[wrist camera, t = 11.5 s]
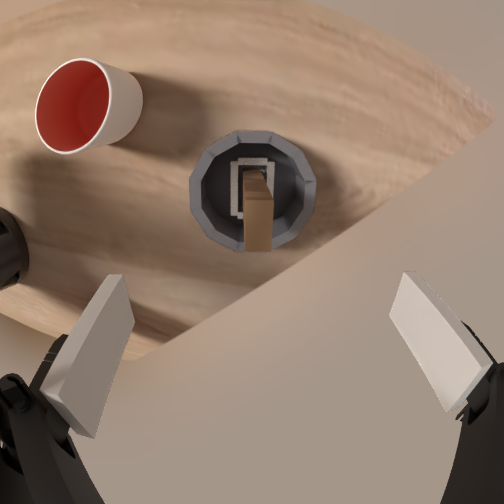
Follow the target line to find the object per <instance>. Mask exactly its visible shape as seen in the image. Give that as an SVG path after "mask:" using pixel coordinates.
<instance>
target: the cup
mask: <svg viewBox="0 0 504 504" xmlns="http://www.w3.org/2000/svg"><path fill="white" fill-rule="evenodd" d="M142 106H143V95H142V90H141V87H140V85H139V83H138V81H137V80H136V79H135V78H134V77H133V76H132V75H131V74H130V73H128V72H126V71H124V70H121V69H119V68H116V67H113V66H110V65H108V64H105V63H102V62H99V61H96V60H93V59H90V58H77V59H73V60H70V61H68V62H66V63H64V64H62V65H61V66H60V67H58V68H57V69H56V70H55V71H54V72H53V73H52V74H51V75H50V76H49V77H48V79H47V80H46V82H45V83H44V85H43V87H42V89H41V91H40V93H39V96H38V99H37V103H36V109H35V122H36V128H37V131H38V134H39V136H40V138H41V140H42V142H43V143H44V144H45V145H46V146H47V147H48V148H49V149H50V150H52V151H54V152H56V153H59V154H74V153H77V152H81V151H84V150H88V149H92V148H96V147H100V146H104V145H108V144H112V143H114V142H117V141H119V140H120V139H122V138H124V137H125V136H126V135H127V134H128V133H129V132H130V131H131V130H132V129H133V128H134V126H135V125H136V123H137V121H138V119H139V117H140V114H141V111H142Z"/></svg>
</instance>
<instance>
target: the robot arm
mask: <svg viewBox="0 0 504 504" xmlns="http://www.w3.org/2000/svg"><path fill="white" fill-rule="evenodd" d="M28 265H29V256H28V250H27V245H26V242H25V239H24V236H23V234H22V232H21V230H20V228H19V226H18V224H17V223H16V221H15V220H14V219H13V217H12V216H11V215H10V214H9V213H8V212H7V211H5V210H4V209H2V208H0V291H1V290H3V289H6V288H8V287H11V286H13V285H15V284H17V283H18V282H19V281H20V280H21V279H22V278H23V277H24V276H25V275H26V273H27V270H28ZM389 316H390V318H391V319H392V321H393V322H394V324H395V326H396V327H397V329H398V330H399V332H400V334H401V335H402V337H403V338H404V340H405V342H406V343H407V345H408V346H409V348H410V350H411V351H412V353H413V355H414V356H415V358H416V360H417V361H418V363H419V365H420V366H421V368H422V370H423V372H424V373H425V375H426V376H427V379H428V380H429V382H430V384H431V386H432V387H433V389H434V391H435V393H436V395H437V397H438V399H439V400H440V402H441V404H442V406H443V408H444V410H445V412H446V413H448V412H450V411H452V410H454V409H456V408H458V407H459V406H460V405H461V404H462V403H463V401H464V400H465V399H467V401H468V404H467V405H466V406H465V407H464V408H463V410H462V411H461V412H460V413H459V414H458V415H457V417H456V420H458V419H459V418H460V417H461V416H462V414H464V416H463V417H462V419H461V420H460V421H462V427H461V433H460V438H459V442H458V447H457V451H456V455H455V459H454V463H453V467H452V470H451V473H450V477H449V480H448V483H447V486H446V489H445V492H444V495H443V497H442V500H441V503H440V504H504V363H503V362H502V363H500V364H498V363H497V362H496V361H495V359H494V358H493V356H492V355H491V354H490V353H489V351H488V350H487V348H486V347H485V346H484V345H483V343H482V342H480V340H479V338H478V337H477V336H475V333H474V332H473V331H472V330H471V328H470V327H469V326H468V325H466V324H465V323H463V322H462V321H460V320H459V319H458V318H457V316H456V315H455V314H454V313H453V311H451V309H450V308H449V307H448V306H447V305H446V304H445V302H444V301H443V300H442V299H441V298H440V297H439V296H438V295H437V293H436V292H435V291H434V290H433V289H432V288H431V287H430V286H429V285H428V284H427V283H426V282H425V280H423V278H422V277H420V275H419V274H418V273H417V272H416V271H404V272H403V276H402V279H401V282H400V285H399V288H398V291H397V294H396V297H395V300H394V303H393V306H392V309H391V312H390V314H389ZM134 324H135V320H134V316H133V313H132V309H131V305H130V302H129V298H128V294H127V290H126V286H125V282H124V278H123V275H113V274H108V275H107V277H106V278H105V280H104V281H103V283H102V284H101V286H100V287H99V288H98V290H97V291H96V293H95V294H94V296H93V297H92V299H91V300H90V302H89V304H88V305H87V307H86V308H85V310H84V311H83V313H82V314H81V316H80V318H79V319H78V321H77V322H76V324H75V326H74V327H73V329H72V331H71V332H70V334H69V335H66V334H62V335H61V336H60V337H59V338H58V339H57V340H56V341H54V343H53V344H52V346H51V348H50V349H49V351H48V352H49V353H48V354H47V355H46V357H45V358H44V361H43V362H42V363H41V365H40V367H39V369H38V371H37V373H36V374H35V376H34V378H33V380H32V382H31V384H30V386H29V387H28V386H27V385H26V383H25V382H24V380H23V379H22V378H21V377H20V376H19V375H17V374H14V373H11V374H7V375H5V376H4V377H2V378H1V379H0V440H1V441H2V442H3V446H2V448H1V445H0V504H105V503H104V501H103V500H102V498H101V496H100V495H99V493H98V491H97V489H96V488H95V486H94V484H93V482H92V481H91V479H90V477H89V475H88V473H87V471H86V469H85V467H84V465H83V463H82V461H81V459H80V457H79V454H78V452H77V450H76V448H75V446H74V443H73V441H72V439H71V437H70V435H69V434H68V431H69V428H70V427H71V428H72V429H73V430H74V431H75V432H76V433H77V434H79V435H83V436H86V437H90V438H93V439H94V438H95V435H96V432H97V428H98V425H99V422H100V418H101V415H102V412H103V409H104V406H105V403H106V400H107V396H108V393H109V391H110V388H111V385H112V382H113V379H114V376H115V373H116V371H117V368H118V365H119V363H120V360H121V357H122V355H123V352H124V349H125V347H126V344H127V342H128V339H129V337H130V334H131V332H132V329H133V327H134Z"/></svg>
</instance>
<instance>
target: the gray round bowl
mask: <svg viewBox="0 0 504 504" xmlns="http://www.w3.org/2000/svg"><path fill="white" fill-rule="evenodd" d="M238 155H255V156H266V157H267V158H268V159H272V160H273V161H274V162H275V166H274V190H273V199H274V209H273V229H272V247H271V250H273V249H275V248H277V247H279V246H281V245H283V244H285V243H287V242H289V241H290V240H292V239H294V238H295V237H297V235H298V234H299V232H300V231H301V230H302V228H303V227H304V225H305V224H306V223H307V221H308V220H309V218H310V217H311V215H312V214H313V211H314V205H315V194H316V183H317V181H316V178H315V176H314V174H313V171H312V169H311V167H310V165H309V163H308V161H307V159H306V157H305V155H304V153H303V151H301V149H299V148H298V147H296V146H294V145H293V144H291V143H290V142H288V141H287V140H285V139H283V138H282V137H280V136H279V135H277V134H275V133H274V132H271V131H265V130H236V131H234V132H232V133H231V134H229V135H227V136H225V137H224V138H222V139H220V140H218V141H217V142H215V143H213V144H211V145H210V146H209V147H207V148H206V149H205V151H204V152H203V154H202V156H201V158H200V159H199V161H198V163H197V165H196V167H195V169H194V170H193V172H192V174H191V176H190V179H189V192H190V211H191V213H192V214H193V216H194V217H195V219H196V220H197V222H198V223H199V225H200V226H201V228H202V229H203V231H204V232H205V234H206V235H207V237H209V238H210V239H212V240H213V241H215V242H217V243H219V244H221V245H223V246H225V247H227V248H229V249H231V250H233V251H235V252H236V250H237V252H267V251H245V243H244V222H243V219H238V216H231V159H238ZM243 168H249V169H260V170H261V172H262V175H263V177H264V179H265V165H238V206H243ZM294 236H295V237H294ZM268 252H269V251H268Z"/></svg>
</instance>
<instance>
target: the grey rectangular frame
mask: <svg viewBox="0 0 504 504" xmlns="http://www.w3.org/2000/svg"><path fill="white" fill-rule="evenodd" d="M238 165H265V181H266V184H267V186H268V188H269V190H270V193H271V195H272V197H273V190H274V166H275V162H274V161H273V160H272V159H268V158H267V157H266V156H255V155H238V159H231V216H238V219H243V206H238Z"/></svg>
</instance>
